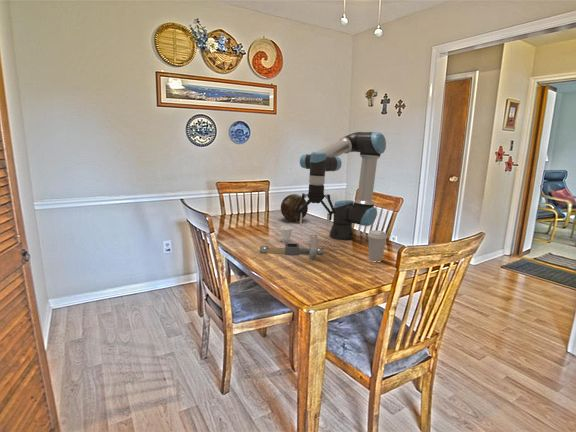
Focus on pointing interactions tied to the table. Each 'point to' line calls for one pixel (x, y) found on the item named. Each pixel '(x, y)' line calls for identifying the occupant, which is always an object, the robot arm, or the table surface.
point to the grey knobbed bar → (290, 249)
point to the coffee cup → (376, 245)
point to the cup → (285, 233)
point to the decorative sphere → (292, 207)
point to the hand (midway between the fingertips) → (314, 226)
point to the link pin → (313, 247)
